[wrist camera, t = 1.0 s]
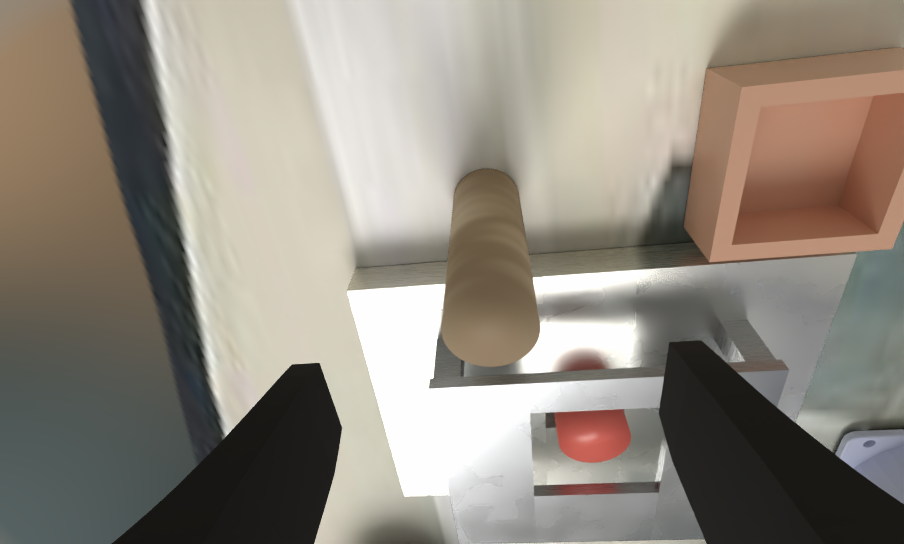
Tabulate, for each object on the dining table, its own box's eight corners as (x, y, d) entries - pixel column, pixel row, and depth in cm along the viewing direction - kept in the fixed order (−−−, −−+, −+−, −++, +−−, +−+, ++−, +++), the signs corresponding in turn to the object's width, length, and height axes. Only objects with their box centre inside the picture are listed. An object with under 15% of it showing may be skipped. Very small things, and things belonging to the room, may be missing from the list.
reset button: (618, 367, 21) (633, 414, 19) (614, 413, 23) (628, 461, 20) (550, 371, 21) (558, 417, 19) (551, 416, 23) (558, 464, 21)
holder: (900, 47, 15) (967, 63, 13) (844, 214, 18) (892, 248, 16) (706, 68, 16) (742, 87, 14) (683, 226, 19) (709, 262, 17)
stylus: (517, 165, 18) (539, 286, 11) (520, 225, 19) (541, 364, 13) (450, 172, 18) (435, 293, 12) (457, 231, 19) (447, 369, 13)
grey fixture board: (829, 231, 19) (917, 302, 15) (756, 457, 26) (804, 543, 22) (355, 268, 20) (328, 339, 17) (407, 469, 27) (397, 551, 24)
